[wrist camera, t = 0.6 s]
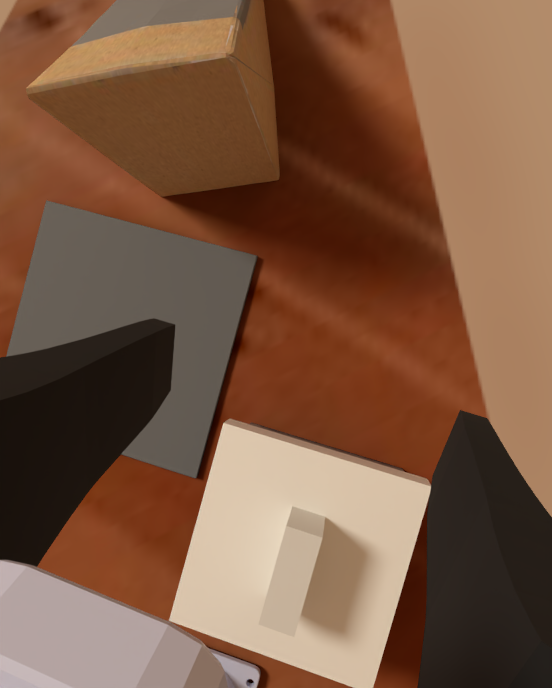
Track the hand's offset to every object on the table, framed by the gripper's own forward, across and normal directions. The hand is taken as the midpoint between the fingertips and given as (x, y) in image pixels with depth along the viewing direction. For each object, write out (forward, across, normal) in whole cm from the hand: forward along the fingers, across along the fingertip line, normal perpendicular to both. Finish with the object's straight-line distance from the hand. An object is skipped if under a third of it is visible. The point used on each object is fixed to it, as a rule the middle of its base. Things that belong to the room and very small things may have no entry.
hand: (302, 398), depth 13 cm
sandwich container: (+26, +14, -5) cm, 30 cm away
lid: (+10, 0, +17) cm, 19 cm away
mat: (+17, +15, +11) cm, 25 cm away
